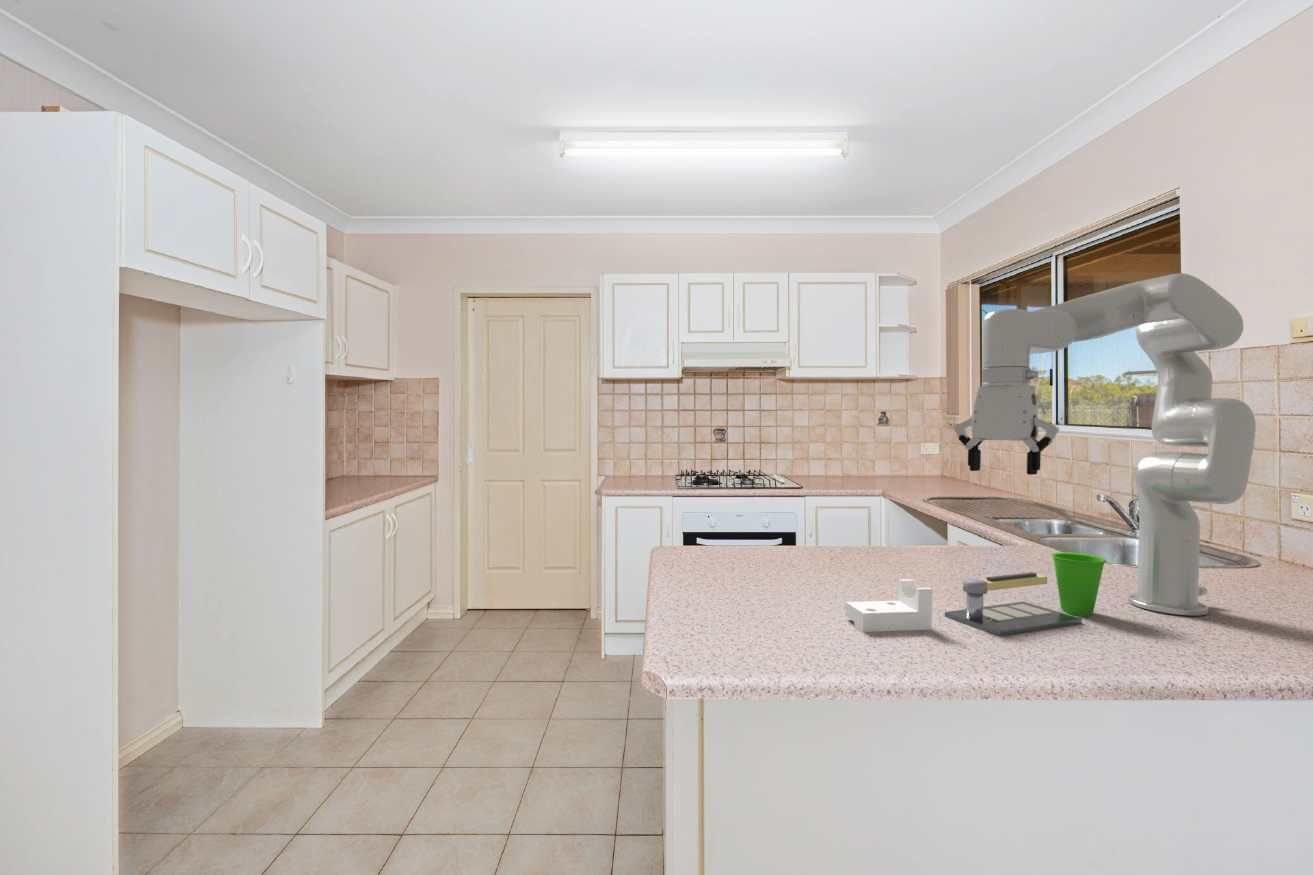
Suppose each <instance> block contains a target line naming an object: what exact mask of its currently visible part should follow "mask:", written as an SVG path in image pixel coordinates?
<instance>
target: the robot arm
mask: <svg viewBox="0 0 1313 875" xmlns="http://www.w3.org/2000/svg"><path fill="white" fill-rule="evenodd" d="M1243 320H1244V319H1243V318H1242V315H1241V313H1240V312H1239V310H1238V309H1237V308H1236V307H1235V306H1234V305H1233V303H1231V302H1230V301H1229V300H1227V298H1225V297H1224V296H1222V295H1221V294H1220V293H1219V292H1217V291H1216V290H1215V289H1214V288H1213V287H1211V286H1210V285H1209V284H1208V283H1206V282H1204V281H1202V280H1201V279H1199V278H1197V277H1196V276H1194V275H1192V274H1188V273H1182V272H1181V273H1180V272H1178V273H1173V274H1168V275H1162V276H1157V277H1153V278H1147V279H1144V280H1139V281H1135V282H1131V283H1127V284H1122V285H1119V286H1116V287H1113V288H1109V289H1106V290H1102V291H1099V292H1098V291H1097V292H1096V293H1091V294H1087V295H1084V296H1081V297H1077V298H1073V299H1070V300H1067V301H1064V302H1061V303H1058V304H1054V305H1051V306H1047V307H1044V308H1040V309H1036V310H1033V311H1032V310H1031V311H1029V310H1028V311H1027V310H1026V309H1021V308H1007V309H1005V308H1004V309H997V310H994V311H991V312H988V313H987V314H986V315H985V316H984V319H983V330H982V333H983V334H982V362H981V364H982V366H981V367H982V368H981V370H982V372H981V373H982V374H981V386H978V387H977V390H976V394H975V398H974V404H973V410H972V417H970V418H968V419H967V420H965V421H963V422H960V423H959V424H956V425H954V427H953V430H954V432H955V433H956V435H957V437H958V440H959V441H960V443H961V444H962V445H963V446H965V449H966V450H967V466H968V467H969V471H970V472H977V471H980V470H981V461H982V460H981V458H982V455H981V454H982V451H981V449H979V447H980V446H981V445H982V444H983V443H984V442H985V441H1013V442H1014V441H1015V442H1016V441H1019V442H1020V441H1023V443H1024V444H1025V445H1026V446H1027V447H1028V449H1029V451H1027V454H1026V474H1027V475H1032V476H1033V475H1038V471H1040V469H1041V453H1042V452H1043V451H1044V450H1045V449H1046V448H1047V447H1048V446H1050V444H1052V443H1053V440H1054V439H1055V438H1056V436H1057V434H1058V433H1059V431H1060V428H1059V426H1057V425H1054V424H1052V423H1050V422H1049V421H1045V420H1044V419H1041V418H1040V417H1039V409H1038V406H1039V405H1038V399H1037V392H1036V388H1035V385H1031V384H1030V383H1031V380H1033V379H1034V380H1035V379H1039V371H1038V370H1032V369H1031V367H1030V363H1031V362H1030V360H1031V358H1030V357H1031V355H1035V354H1044V353H1051V352H1057V351H1062V350H1063V349H1066V348H1067V347H1068V346H1070V345H1071V344H1072V343H1077V342H1085V341H1090V340H1094V339H1100V338H1103V337H1107V336H1109V335H1113V334H1115V333H1119V332H1122V331H1125V330H1129V329H1132V328H1136V327H1137V328H1136V331H1135V332H1136V333H1135V335H1136V341H1137V343H1138V345H1139V346H1140V348H1141V349H1142V350H1143V352H1144V353H1145V354H1146V355H1147V357H1148V358H1149V360H1150V361H1151V363H1152V364H1153V366H1154V368H1155V371H1156V373H1157V388H1156V394H1155V395H1156V396H1155V399H1154V400H1155V401H1154V406H1153V413H1152V421H1151V435H1152V437H1153V439H1155V441H1156V442H1158V443H1160V444H1162V445H1165V446H1174V447H1194V448H1196V447H1197V448H1207V453H1193V452H1182V451H1181V452H1180V451H1179V452H1178V451H1177V452H1176V451H1158V452H1157V451H1156V452H1153V453H1150V454H1146V455H1144V456H1143V457H1141V458H1140V459H1139V460H1138V461H1137V462H1136V464H1135V466H1134V471H1133V475H1134V482H1135V487H1136V493H1137V496H1138V508H1139V510H1138V511H1139V513H1138V514H1139V520H1138V522H1139V528H1138V560H1137V561H1138V563H1137V565H1138V566H1137V567H1138V568H1137V593H1132V594H1131V593H1130V594H1129V595H1128V597H1127V598H1128V599H1127V601H1128V603H1130V604H1131V605H1132V606H1135V607H1138V608H1141V609H1144V610H1149V611H1153V612H1157V613H1162V614H1170V615H1177V616H1178V615H1179V616H1190V617H1191V616H1193V617H1195V616H1204V615H1207V614H1208V613H1209V607H1208V606H1207V605H1206V604H1204V603H1202V602H1199V597H1201V596H1206V595H1207V594H1208V590H1207V588H1206V587H1205V586H1203V585H1199V576H1200V575H1199V574H1200V570H1199V569H1200V539H1201V538H1200V535H1201V524H1200V520H1199V517H1198V515H1197V512H1195V509H1194V508H1193V506H1192V505H1191V504H1190V502H1194V503H1202V504H1213V505H1229V504H1233V503H1236V502H1237V501H1239V500H1240V499H1241V498H1242V497H1243V495H1244V494H1245V492H1246V489H1247V486H1248V481H1249V476H1250V471H1251V464H1252V458H1253V451H1254V446H1255V438H1256V429H1257V428H1256V427H1257V426H1256V424H1257V423H1256V418H1255V415H1254V412H1253V410H1252V408H1251V407H1250V406H1249V405H1248V404H1247V403H1245V402H1244V401H1242V400H1240V399H1236V398H1229V397H1228V398H1227V397H1225V398H1223V397H1221V398H1219V397H1217V398H1211V396H1212V388H1213V374H1212V371H1211V369H1210V368H1209V367H1208V364H1206V362H1205V361H1204V360H1203V359H1202V358H1201V357H1200V356H1199V355H1198V354H1197V353H1196V352H1203V351H1215V350H1221V349H1224V348H1225V349H1226V348H1228V347H1230V346H1232V345H1235V343H1237V342H1238V340H1240V339H1241V336H1242V334H1243V333H1244V332H1243V331H1244V321H1243ZM969 428H971V434H972V437H971V438H970V436H969V435H967V432H966V430H967V429H969ZM1040 429H1043V430H1044V431H1045V434H1044V436H1043V437H1042V438H1041V439H1040V440H1038V439H1037V438H1038V436H1039V434H1040V433H1039V432H1040V431H1039V430H1040Z"/></svg>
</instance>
